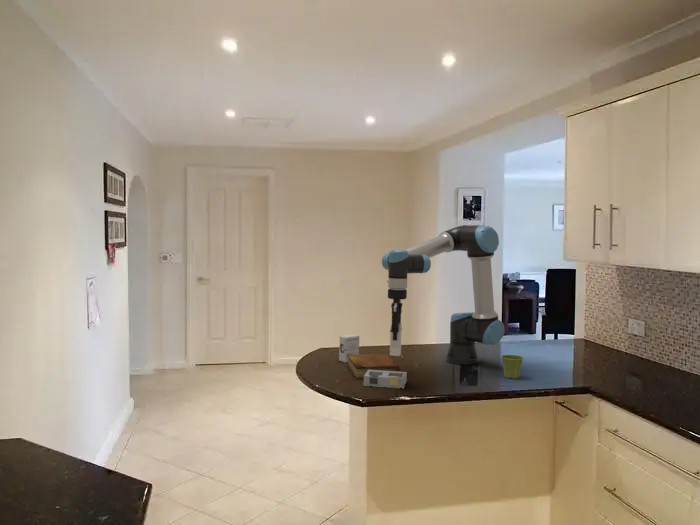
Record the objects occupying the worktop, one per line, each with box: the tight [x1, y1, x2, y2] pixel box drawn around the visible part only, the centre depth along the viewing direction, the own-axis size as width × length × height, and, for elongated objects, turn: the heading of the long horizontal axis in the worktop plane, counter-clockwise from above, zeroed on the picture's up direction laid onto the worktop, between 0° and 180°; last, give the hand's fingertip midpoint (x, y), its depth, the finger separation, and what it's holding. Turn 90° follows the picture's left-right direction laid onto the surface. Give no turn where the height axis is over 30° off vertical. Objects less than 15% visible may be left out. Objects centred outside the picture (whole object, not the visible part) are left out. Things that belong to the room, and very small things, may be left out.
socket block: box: [363, 370, 408, 390], centre depth 243 cm, size 16×11×4 cm
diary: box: [346, 353, 401, 380], centre depth 263 cm, size 23×19×6 cm
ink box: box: [338, 334, 360, 364], centre depth 283 cm, size 9×5×12 cm, turn 129°
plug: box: [389, 323, 403, 357], centre depth 241 cm, size 4×4×13 cm
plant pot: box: [500, 354, 524, 380], centre depth 258 cm, size 9×9×9 cm
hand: (395, 346), depth 242 cm, fingers closed on plug, 4 cm apart
